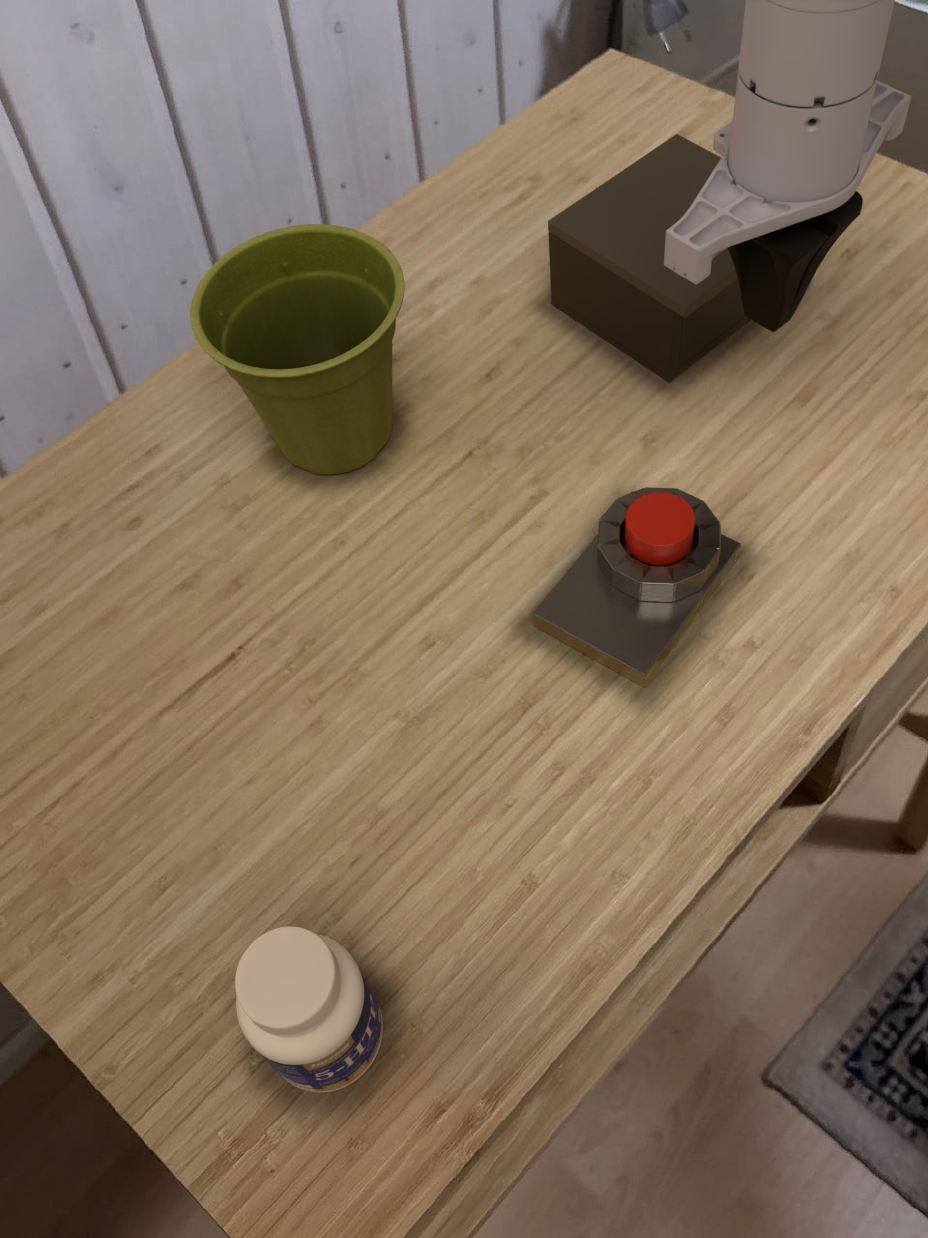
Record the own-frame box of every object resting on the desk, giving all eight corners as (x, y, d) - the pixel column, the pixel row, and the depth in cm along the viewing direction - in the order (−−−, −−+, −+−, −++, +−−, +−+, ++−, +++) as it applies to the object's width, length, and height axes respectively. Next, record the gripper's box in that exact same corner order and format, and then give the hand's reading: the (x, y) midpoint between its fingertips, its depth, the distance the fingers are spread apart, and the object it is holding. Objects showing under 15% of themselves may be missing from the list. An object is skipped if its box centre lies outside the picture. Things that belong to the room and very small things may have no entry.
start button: (647, 502, 63) (648, 481, 62) (705, 529, 62) (707, 509, 60) (612, 546, 62) (612, 526, 60) (670, 576, 60) (672, 556, 59)
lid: (815, 220, 70) (817, 208, 69) (684, 318, 66) (685, 307, 66) (676, 144, 75) (676, 132, 74) (547, 231, 71) (547, 220, 71)
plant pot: (207, 430, 73) (150, 292, 64) (359, 340, 76) (326, 195, 67) (308, 541, 67) (261, 408, 58) (467, 439, 70) (448, 296, 61)
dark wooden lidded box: (791, 288, 75) (805, 214, 70) (669, 383, 71) (674, 311, 67) (671, 218, 80) (675, 144, 75) (550, 303, 76) (548, 232, 71)
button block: (633, 501, 67) (635, 468, 64) (741, 554, 64) (747, 521, 61) (533, 626, 63) (531, 595, 60) (644, 688, 60) (646, 658, 57)
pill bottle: (341, 1118, 50) (297, 1075, 42) (246, 1054, 52) (189, 1002, 44) (407, 1009, 52) (376, 950, 45) (314, 952, 54) (270, 886, 46)
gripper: (842, -37, 52) (797, 214, 63) (616, 110, 48) (612, 352, 59) (977, 17, 49) (904, 272, 60) (748, 181, 44) (717, 423, 56)
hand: (767, 316), depth 59 cm, fingers closed
